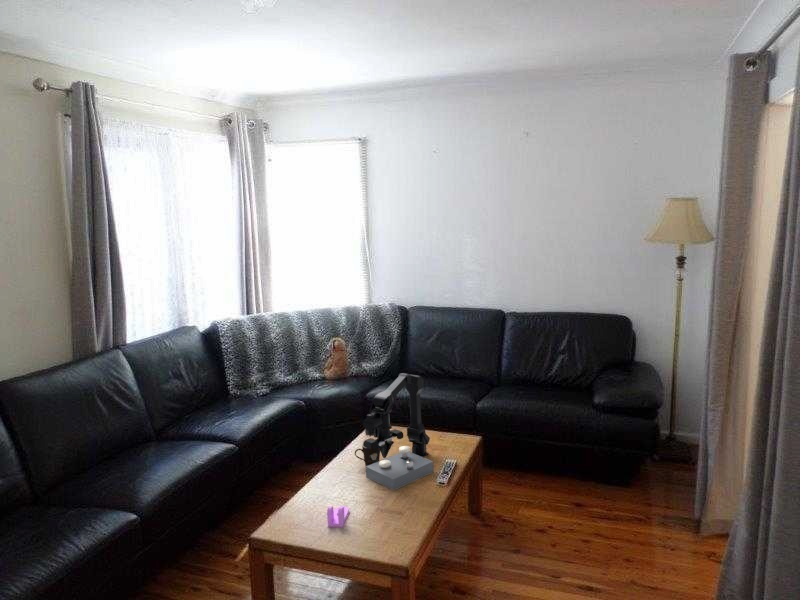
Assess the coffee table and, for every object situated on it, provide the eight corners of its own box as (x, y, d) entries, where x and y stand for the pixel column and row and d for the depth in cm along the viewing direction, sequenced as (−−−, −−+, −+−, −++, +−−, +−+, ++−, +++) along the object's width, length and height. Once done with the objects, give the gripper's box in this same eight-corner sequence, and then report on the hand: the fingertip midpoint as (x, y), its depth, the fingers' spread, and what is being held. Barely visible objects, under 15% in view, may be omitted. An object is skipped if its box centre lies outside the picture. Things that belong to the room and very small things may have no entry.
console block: (405, 460, 274) (405, 450, 273) (433, 472, 261) (433, 461, 260) (366, 477, 258) (365, 466, 257) (393, 490, 245) (393, 479, 244)
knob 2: (405, 453, 268) (404, 445, 268) (413, 457, 264) (412, 448, 264) (396, 457, 265) (396, 448, 264) (404, 460, 261) (404, 451, 260)
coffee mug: (382, 460, 274) (381, 440, 272) (380, 469, 266) (379, 448, 264) (358, 460, 275) (357, 440, 274) (354, 468, 267) (353, 447, 265)
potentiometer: (409, 466, 256) (409, 456, 255) (414, 468, 254) (414, 458, 253) (404, 468, 254) (404, 458, 253) (409, 470, 252) (409, 460, 251)
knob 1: (385, 467, 261) (385, 458, 260) (393, 471, 257) (393, 462, 256) (376, 471, 257) (376, 462, 257) (384, 475, 253) (384, 466, 253)
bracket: (342, 527, 218) (341, 510, 217) (327, 526, 219) (326, 509, 218) (350, 509, 231) (349, 493, 229) (336, 509, 231) (335, 492, 230)
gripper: (387, 413, 266) (388, 446, 268) (354, 424, 253) (356, 458, 256) (403, 419, 257) (404, 453, 260) (371, 431, 245) (372, 466, 247)
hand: (384, 457), depth 256 cm, fingers closed
